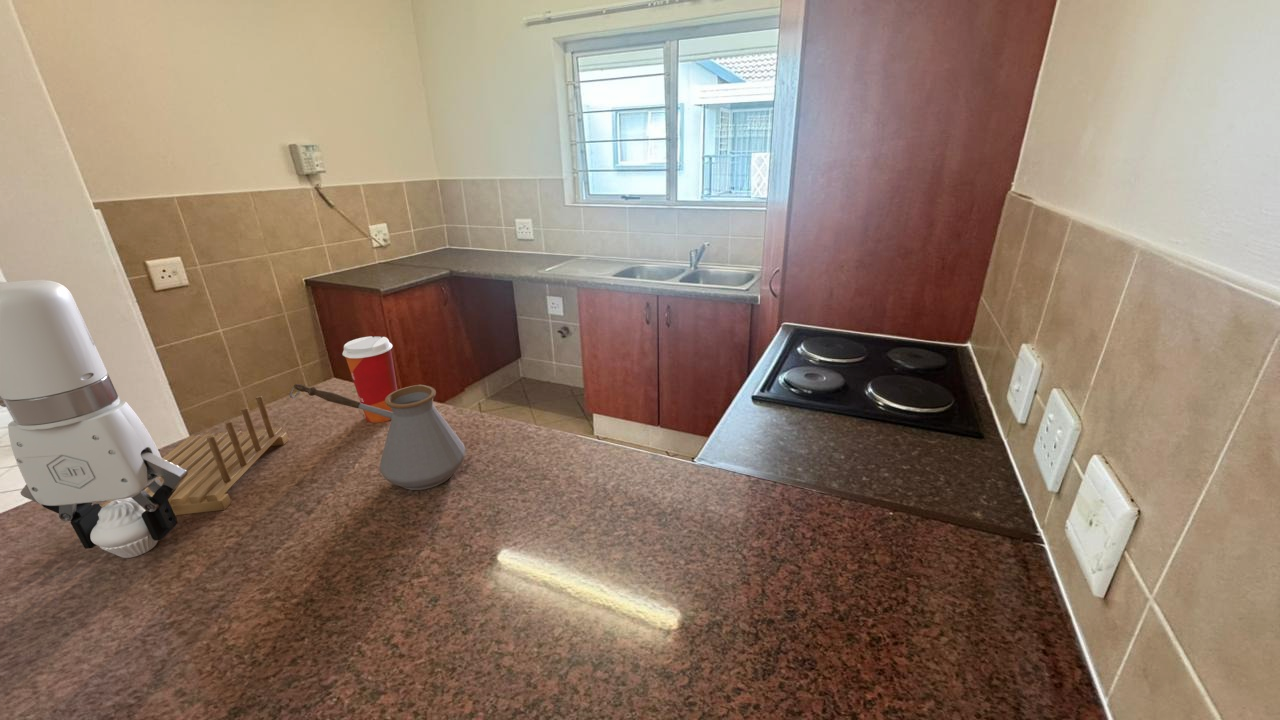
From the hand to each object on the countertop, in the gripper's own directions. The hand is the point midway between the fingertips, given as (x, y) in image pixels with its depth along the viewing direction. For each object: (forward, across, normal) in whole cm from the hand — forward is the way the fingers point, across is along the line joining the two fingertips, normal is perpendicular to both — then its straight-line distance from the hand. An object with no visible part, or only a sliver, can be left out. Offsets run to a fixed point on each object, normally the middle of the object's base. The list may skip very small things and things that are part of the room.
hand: (133, 535), depth 59 cm
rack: (+2, -1, +15) cm, 15 cm away
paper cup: (+2, +19, +30) cm, 36 cm away
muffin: (+2, 0, 0) cm, 2 cm away
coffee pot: (+2, +26, +10) cm, 28 cm away
